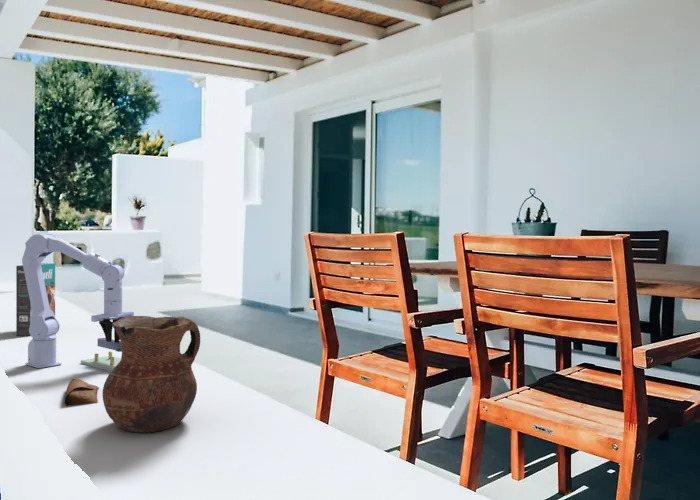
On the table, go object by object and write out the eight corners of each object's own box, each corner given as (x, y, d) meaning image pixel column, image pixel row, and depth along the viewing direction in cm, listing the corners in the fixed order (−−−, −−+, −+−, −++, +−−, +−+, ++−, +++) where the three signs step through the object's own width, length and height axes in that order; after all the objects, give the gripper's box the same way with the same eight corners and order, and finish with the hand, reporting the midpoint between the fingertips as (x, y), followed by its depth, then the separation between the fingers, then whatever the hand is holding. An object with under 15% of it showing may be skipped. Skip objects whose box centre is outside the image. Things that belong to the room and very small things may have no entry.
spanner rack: (80, 363, 216) (80, 353, 216) (110, 358, 225) (110, 348, 224) (113, 371, 204) (113, 361, 204) (142, 366, 212) (143, 356, 212)
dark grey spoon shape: (95, 346, 216) (95, 338, 216) (106, 345, 219) (106, 337, 219) (119, 352, 206) (120, 344, 206) (130, 350, 209) (130, 342, 209)
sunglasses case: (99, 403, 167) (85, 382, 165) (74, 418, 165) (60, 398, 163) (99, 387, 183) (86, 368, 182) (76, 401, 181) (63, 382, 180)
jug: (142, 445, 135) (143, 329, 134) (81, 428, 146) (81, 320, 145) (216, 420, 154) (216, 318, 153) (157, 406, 165) (157, 311, 164)
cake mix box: (30, 336, 268) (30, 266, 268) (16, 336, 268) (16, 265, 268) (55, 328, 290) (55, 263, 289) (42, 328, 290) (42, 263, 289)
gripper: (99, 303, 204) (99, 345, 204) (138, 300, 215) (138, 339, 216) (87, 301, 208) (87, 342, 209) (127, 298, 220) (127, 337, 220)
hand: (113, 341), depth 212 cm, fingers closed on dark grey spoon shape, 2 cm apart
